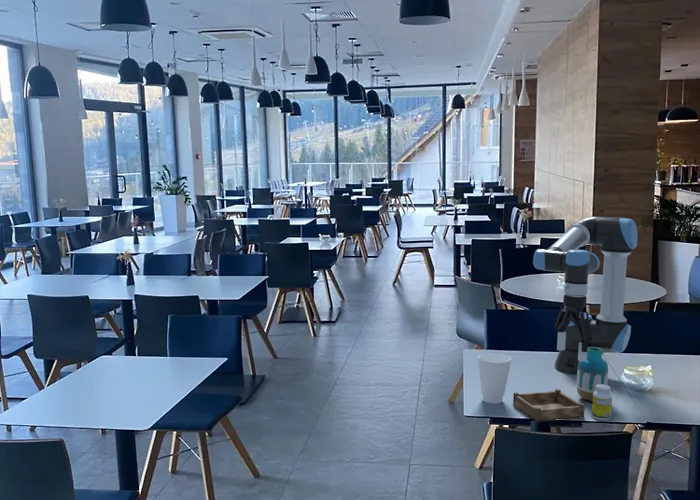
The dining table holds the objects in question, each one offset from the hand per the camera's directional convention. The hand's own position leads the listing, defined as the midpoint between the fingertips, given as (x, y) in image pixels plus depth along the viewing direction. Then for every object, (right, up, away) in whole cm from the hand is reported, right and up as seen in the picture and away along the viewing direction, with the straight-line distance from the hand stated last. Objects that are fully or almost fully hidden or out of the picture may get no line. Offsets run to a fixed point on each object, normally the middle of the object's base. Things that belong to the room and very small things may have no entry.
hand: (571, 355), depth 231 cm
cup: (-25, -18, +11) cm, 33 cm away
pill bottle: (+9, -21, -4) cm, 23 cm away
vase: (+11, -19, +13) cm, 25 cm away
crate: (-8, -20, +1) cm, 21 cm away
